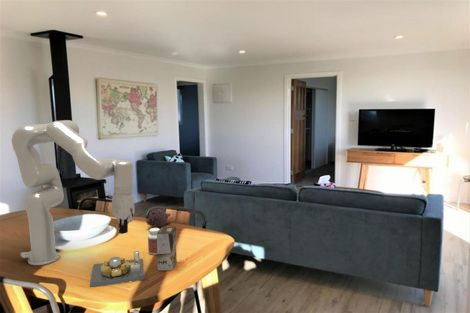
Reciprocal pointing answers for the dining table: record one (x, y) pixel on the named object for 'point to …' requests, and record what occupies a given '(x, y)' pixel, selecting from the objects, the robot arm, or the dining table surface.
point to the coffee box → (166, 248)
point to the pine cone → (157, 218)
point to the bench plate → (114, 263)
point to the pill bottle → (152, 241)
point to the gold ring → (123, 269)
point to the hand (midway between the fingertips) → (123, 232)
